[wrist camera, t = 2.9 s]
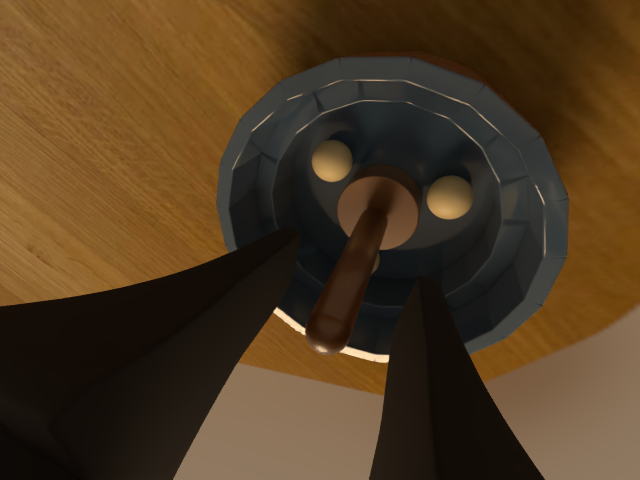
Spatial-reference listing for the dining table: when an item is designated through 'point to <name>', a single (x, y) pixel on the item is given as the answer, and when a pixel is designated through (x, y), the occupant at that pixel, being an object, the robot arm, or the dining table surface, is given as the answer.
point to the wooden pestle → (362, 248)
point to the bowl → (425, 168)
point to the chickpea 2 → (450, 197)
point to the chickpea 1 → (332, 160)
